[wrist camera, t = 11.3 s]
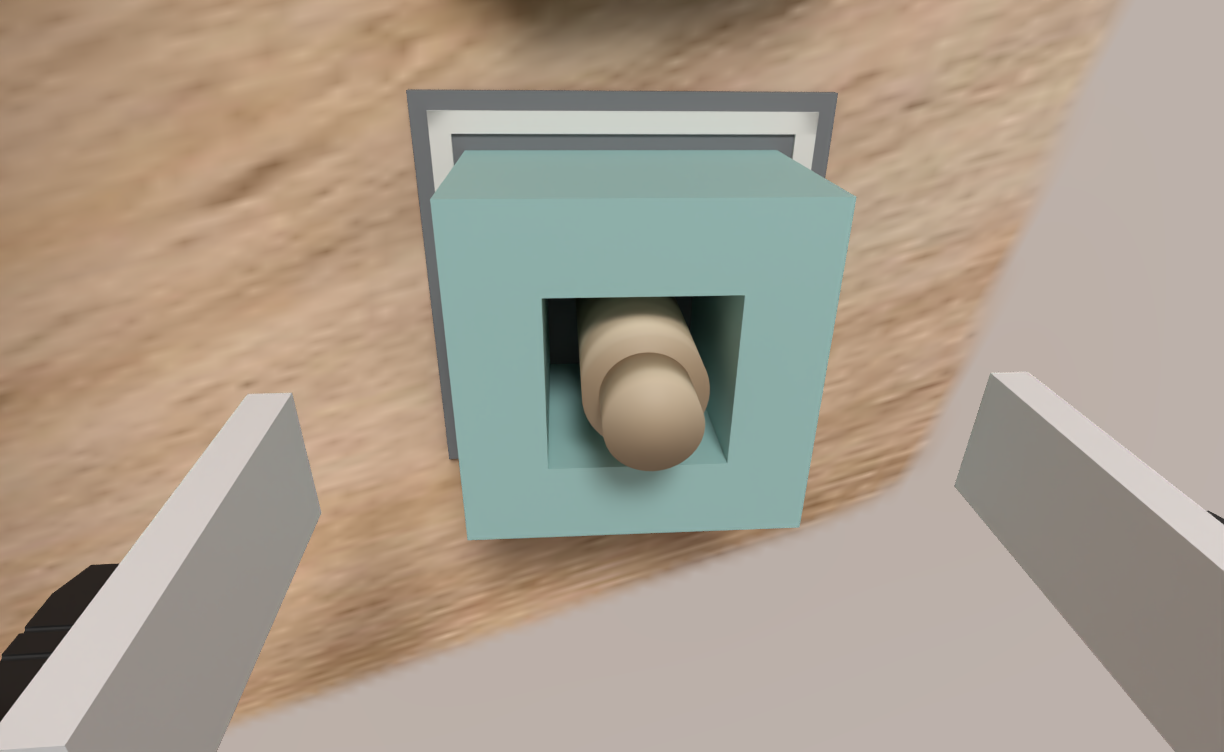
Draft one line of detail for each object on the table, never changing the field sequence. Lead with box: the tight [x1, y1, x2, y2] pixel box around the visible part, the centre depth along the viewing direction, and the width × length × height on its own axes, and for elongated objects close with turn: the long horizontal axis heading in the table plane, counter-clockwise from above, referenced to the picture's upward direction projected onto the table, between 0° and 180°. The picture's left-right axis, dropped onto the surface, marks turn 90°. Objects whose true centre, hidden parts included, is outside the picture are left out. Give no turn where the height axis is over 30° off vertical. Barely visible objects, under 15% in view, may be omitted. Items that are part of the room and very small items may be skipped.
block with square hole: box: [430, 150, 856, 540], centre depth 19 cm, size 9×9×6 cm
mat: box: [406, 89, 838, 459], centre depth 22 cm, size 12×12×1 cm
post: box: [575, 296, 710, 471], centre depth 18 cm, size 3×3×8 cm
